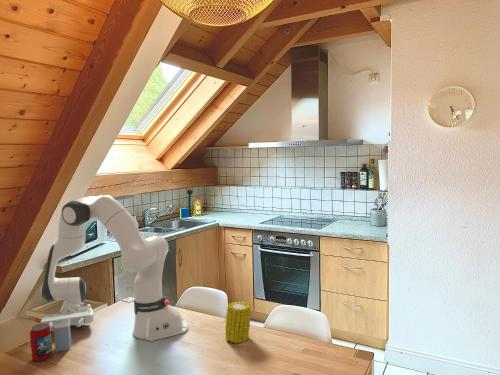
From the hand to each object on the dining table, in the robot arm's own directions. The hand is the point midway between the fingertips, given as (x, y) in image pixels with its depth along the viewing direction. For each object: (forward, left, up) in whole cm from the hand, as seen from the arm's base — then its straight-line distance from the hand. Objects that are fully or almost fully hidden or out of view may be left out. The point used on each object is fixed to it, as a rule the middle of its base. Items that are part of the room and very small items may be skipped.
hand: (65, 326), depth 162 cm
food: (-66, +23, -6) cm, 70 cm away
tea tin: (0, +7, -6) cm, 9 cm away
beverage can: (+7, +12, -6) cm, 15 cm away
